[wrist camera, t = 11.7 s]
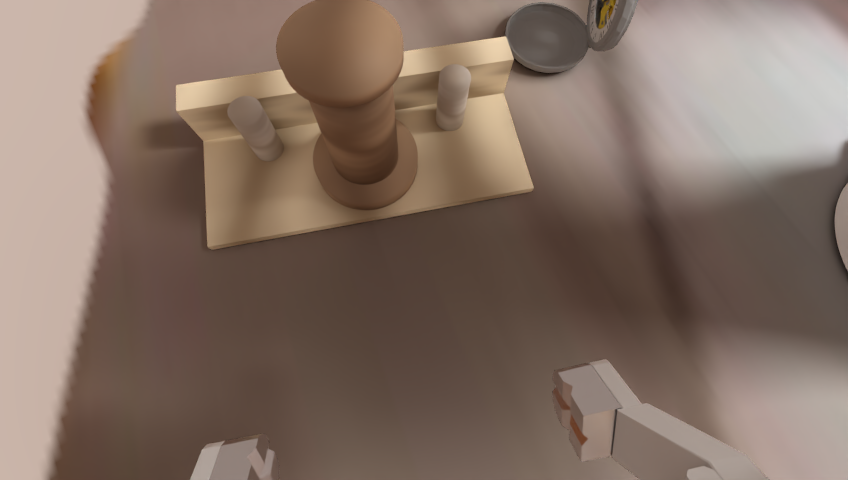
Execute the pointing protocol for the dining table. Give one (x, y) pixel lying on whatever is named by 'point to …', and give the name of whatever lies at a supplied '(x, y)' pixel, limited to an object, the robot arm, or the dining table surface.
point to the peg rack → (298, 133)
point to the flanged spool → (351, 98)
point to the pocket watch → (565, 32)
